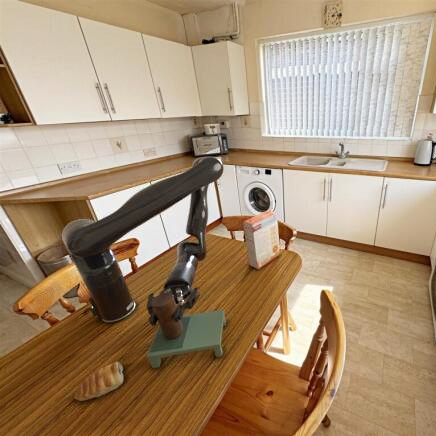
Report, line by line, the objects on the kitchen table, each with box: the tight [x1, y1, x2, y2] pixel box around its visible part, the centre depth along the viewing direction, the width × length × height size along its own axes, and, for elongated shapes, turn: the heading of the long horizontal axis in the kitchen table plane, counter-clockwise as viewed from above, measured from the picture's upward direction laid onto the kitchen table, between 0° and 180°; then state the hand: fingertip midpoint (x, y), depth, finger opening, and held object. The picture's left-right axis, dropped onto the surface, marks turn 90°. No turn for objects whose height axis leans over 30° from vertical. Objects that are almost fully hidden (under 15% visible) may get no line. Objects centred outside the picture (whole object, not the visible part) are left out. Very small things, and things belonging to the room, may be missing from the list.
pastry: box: [73, 361, 125, 402], centre depth 57 cm, size 9×7×4 cm
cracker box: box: [242, 209, 281, 270], centre depth 100 cm, size 14×6×21 cm, turn 141°
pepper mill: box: [152, 292, 184, 340], centre depth 63 cm, size 5×5×12 cm
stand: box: [145, 309, 227, 369], centre depth 67 cm, size 18×12×5 cm, turn 99°
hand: (164, 321), depth 60 cm, fingers closed on pepper mill, 5 cm apart
